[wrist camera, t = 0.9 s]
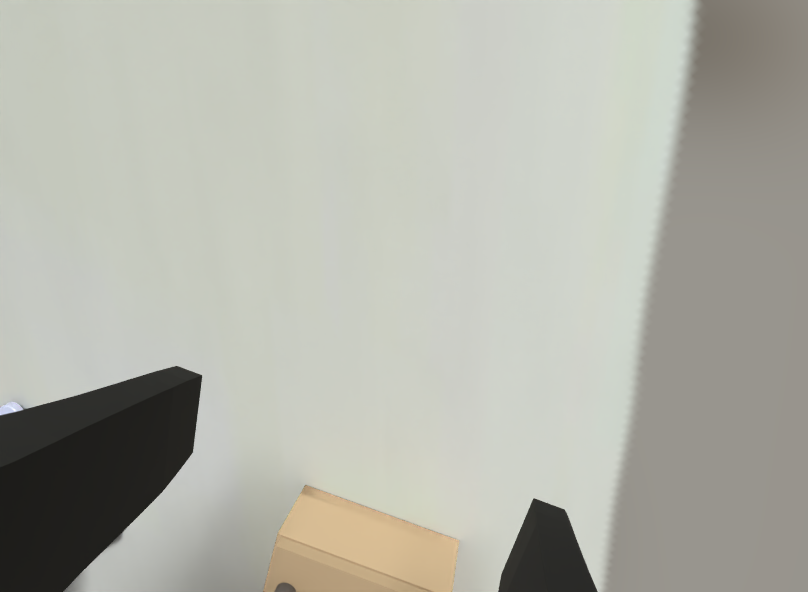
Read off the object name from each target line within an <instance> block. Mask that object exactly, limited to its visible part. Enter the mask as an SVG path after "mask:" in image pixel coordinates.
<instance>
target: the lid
mask: <svg viewBox="0 0 808 592" xmlns="http://www.w3.org/2000/svg"><path fill="white" fill-rule="evenodd" d="M265 592H428V591H425V590H423V589H420V588H417V587H415V586H412V585H409V584H407V583H404V582H401V581H398V580H396V579H393V578H390V577H388V576H385V575H382V574H380V573H377V572H374V571H372V570H369V569H366V568H364V567H361V566H358V565H355V564H353V563H350V562H347V561H345V560H342V559H339V558H337V557H334V556H331V555H329V554H326V553H323V552H320V551H318V550H315V549H312V548H310V547H307V546H304V545H302V544H299V543H296V542H294V541H291V540H288V539H286V538H283V537H281V539H280V541H279V542H278V544H277V546H276V550H275V554H274V558H273V562H272V566H271V570H270V574H269V578H268V582H267V586H266V590H265Z"/></svg>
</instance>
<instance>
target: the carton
mask: <svg viewBox="0 0 808 592" xmlns="http://www.w3.org/2000/svg"><path fill="white" fill-rule="evenodd" d="M281 537H283V538H286V539H288V540H291V541H294V542H296V543H299V544H302V545H304V546H307V547H310V548H312V549H315V550H318V551H320V552H323V553H326V554H329V555H331V556H334V557H337V558H339V559H342V560H345V561H347V562H350V563H353V564H355V565H358V566H361V567H364V568H366V569H369V570H372V571H374V572H377V573H380V574H382V575H385V576H388V577H390V578H393V579H396V580H398V581H401V582H404V583H407V584H409V585H412V586H415V587H417V588H420V589H423V590H425V591H428V592H452V590H453V582H454V575H455V567H456V560H457V552H458V545H459V541H458V540H456V539H453V538H450V537H447V536H445V535H442V534H439V533H436V532H433V531H431V530H428V529H425V528H422V527H420V526H417V525H414V524H411V523H409V522H406V521H403V520H400V519H398V518H395V517H392V516H389V515H387V514H384V513H381V512H378V511H375V510H373V509H370V508H367V507H364V506H362V505H359V504H356V503H353V502H351V501H348V500H345V499H342V498H340V497H337V496H334V495H331V494H329V493H326V492H323V491H320V490H317V489H315V488H312V487H309V486H306V485H305V486H304V488H303V490H302V492H301V493H300V495H299V497H298V499H297V500H296V502H295V504H294V506H293V507H292V509H291V511H290V513H289V515H288V516H287V518H286V520H285V522H284V523H283V525H282V527H281V529H280V530H279V532H278V534H277V538H276V542H275V546H274V550H273V554H272V558H271V562H270V566H269V570H268V574H267V578H266V582H265V586H264V590H263V592H265V590H266V586H267V582H268V578H269V574H270V570H271V566H272V562H273V558H274V554H275V550H276V546H277V544H278V542H279V541H280V539H281Z"/></svg>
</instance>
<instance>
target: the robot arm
mask: <svg viewBox="0 0 808 592" xmlns="http://www.w3.org/2000/svg"><path fill="white" fill-rule="evenodd" d="M201 382H202V375H200V374H197V373H194V372H192V371H189V370H186V369H184V368H181V367H178V366H175V367H171V368H167V369H163V370H160V371H156V372H153V373H149V374H146V375H143V376H139V377H136V378H133V379H130V380H127V381H123V382H120V383H117V384H114V385H110V386H107V387H104V388H100V389H97V390H94V391H90V392H87V393H84V394H81V395H77V396H74V397H70V398H66V399H62V400H59V401H55V402H51V403H47V404H43V405H40V406H36V407H32V408H28V409H25V410H24V409H23V408H22V407H21V406H20V405H19V404H17V403H15V402H9V403H7V404H5V405H3V406H2V407H0V592H63V591H64V590H65V589H66V588H67V587H68V586H69V585H70V584H71V583H72V582H73V581H74V580H75V579H76V577H77V576H78V575H79V574H80V573H81V572H82V571H83V570H84V569H85V568H86V567H87V566H88V565H89V564H90V563H91V562H92V561H93V560H94V559H95V558H96V557H97V556H98V555H99V554H100V553H102V552H103V551H104V550H105V549H106V548H107V547H108V546H109V545H110V544H111V543H112V542H113V541H114V540H115V539H116V538H117V537H118V536H119V535H120V534H121V533H122V532H123V531H124V530H125V529H126V528H127V527H128V526H129V525H130V524H131V523H132V522H133V521H134V520H135V519H136V518H137V517H138V516H139V515H140V514H141V513H142V512H143V511H144V510H145V509H146V508H147V507H148V506H149V505H150V504H151V503H152V502H153V501H154V500H155V499H156V498H157V497H158V496H159V495H160V494H161V493H162V491H163V490H164V489H165V488H166V487H167V485H168V484H169V483H170V482H171V480H172V479H173V478H174V477H175V475H176V474H177V473H178V472H179V470H180V469H181V468H182V466H183V465H184V464H185V462H186V461H187V460H188V458H189V457H190V456H191V454H192V453H193V447H194V438H195V430H196V422H197V414H198V406H199V398H200V390H201ZM498 592H597V589H596V587H595V585H594V582H593V580H592V578H591V575H590V573H589V570H588V568H587V565H586V563H585V560H584V558H583V555H582V553H581V550H580V547H579V545H578V542H577V540H576V537H575V534H574V531H573V529H572V526H571V523H570V521H569V518H568V516H567V513H566V511H565V510H564V509H561V508H559V507H556V506H553V505H551V504H548V503H545V502H542V501H540V500H537V499H533V501H532V503H531V506H530V508H529V510H528V513H527V515H526V518H525V520H524V522H523V525H522V527H521V529H520V532H519V534H518V536H517V539H516V541H515V544H514V546H513V548H512V551H511V553H510V555H509V558H508V560H507V562H506V565H505V567H504V570H503V572H502V575H501V580H500V585H499V591H498Z"/></svg>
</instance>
